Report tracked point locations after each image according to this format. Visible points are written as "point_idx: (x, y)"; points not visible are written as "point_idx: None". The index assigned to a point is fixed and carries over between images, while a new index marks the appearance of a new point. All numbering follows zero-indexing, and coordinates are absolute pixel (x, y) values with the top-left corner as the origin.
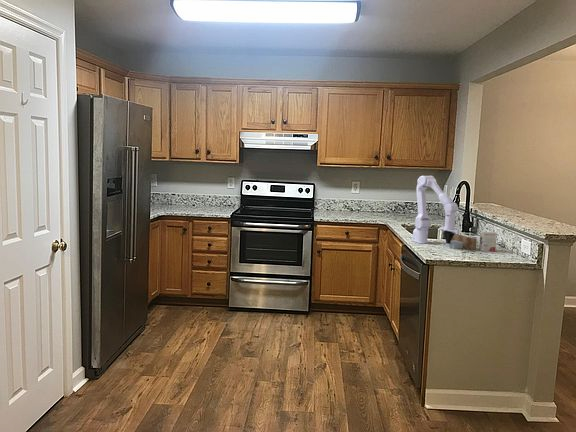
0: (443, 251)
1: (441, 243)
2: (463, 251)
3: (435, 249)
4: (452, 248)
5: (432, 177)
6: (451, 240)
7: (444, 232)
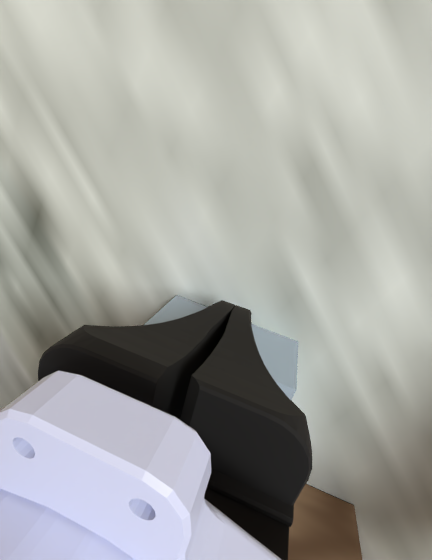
0: (155, 19)
1: (424, 494)
2: (64, 261)
3: (304, 31)
4: (188, 301)
5: None
6: (306, 535)
7: (248, 427)
